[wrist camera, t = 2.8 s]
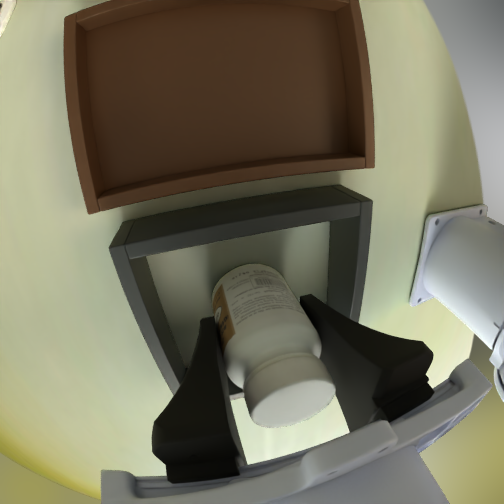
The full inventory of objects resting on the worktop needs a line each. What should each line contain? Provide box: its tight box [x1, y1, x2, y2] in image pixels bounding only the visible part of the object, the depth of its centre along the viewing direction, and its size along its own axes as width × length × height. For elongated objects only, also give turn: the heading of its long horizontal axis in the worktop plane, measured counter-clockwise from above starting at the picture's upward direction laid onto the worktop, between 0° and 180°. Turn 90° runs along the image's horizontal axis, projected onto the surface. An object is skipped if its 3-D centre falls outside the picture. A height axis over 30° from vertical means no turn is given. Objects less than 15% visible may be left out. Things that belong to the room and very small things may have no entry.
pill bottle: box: [212, 264, 336, 428], centre depth 12 cm, size 4×4×8 cm
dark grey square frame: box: [109, 185, 373, 400], centre depth 15 cm, size 11×11×3 cm
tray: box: [64, 0, 375, 214], centre depth 10 cm, size 13×9×2 cm
